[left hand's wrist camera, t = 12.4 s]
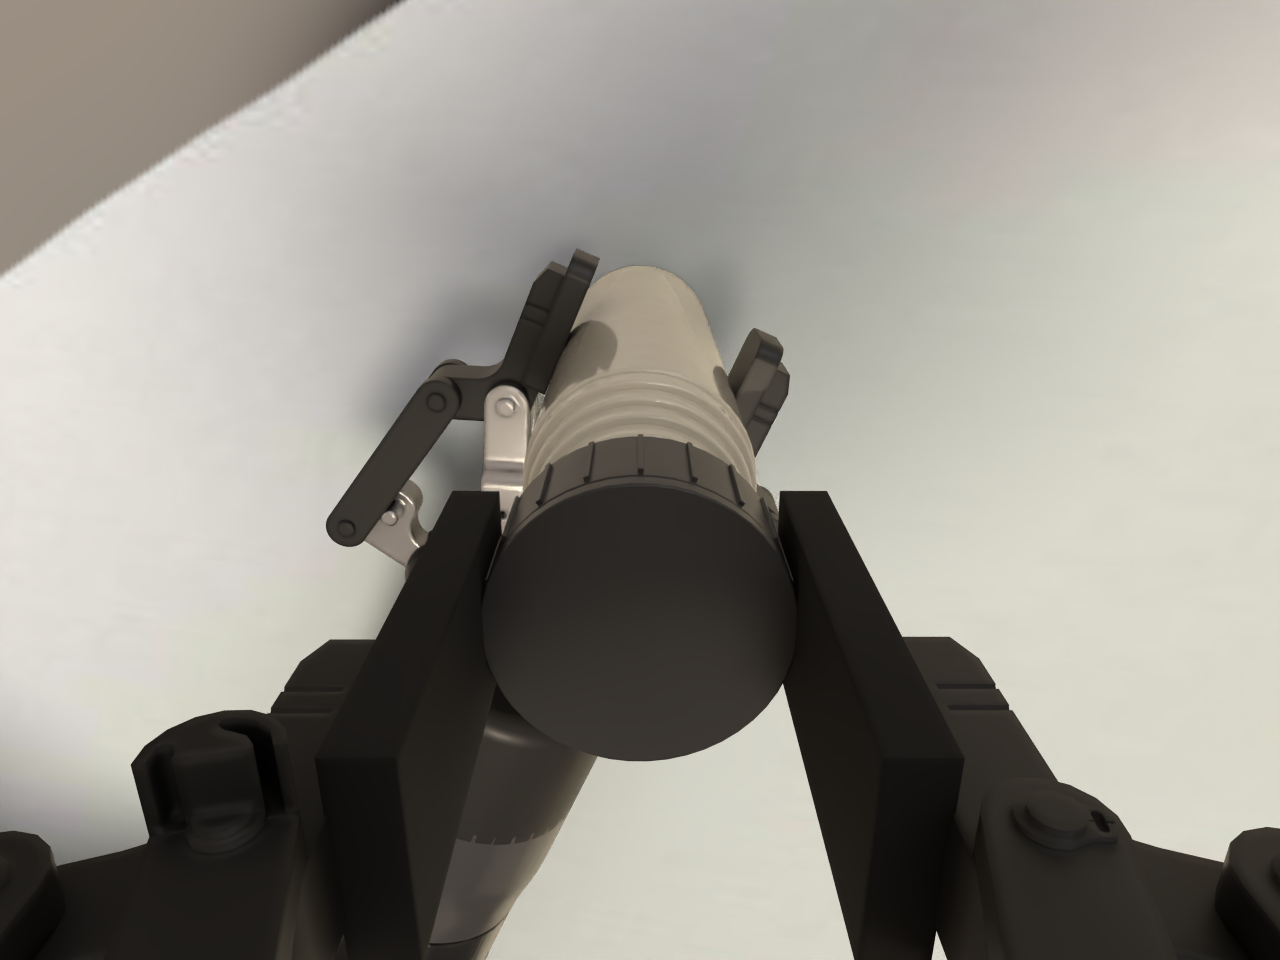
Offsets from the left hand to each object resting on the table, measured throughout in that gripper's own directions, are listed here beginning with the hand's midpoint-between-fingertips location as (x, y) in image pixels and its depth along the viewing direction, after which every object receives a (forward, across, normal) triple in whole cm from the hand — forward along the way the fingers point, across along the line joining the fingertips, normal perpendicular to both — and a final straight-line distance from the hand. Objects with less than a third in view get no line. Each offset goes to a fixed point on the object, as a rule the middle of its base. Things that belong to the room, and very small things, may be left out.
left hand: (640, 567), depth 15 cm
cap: (-2, 0, 0) cm, 2 cm away
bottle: (+18, 0, 0) cm, 18 cm away
